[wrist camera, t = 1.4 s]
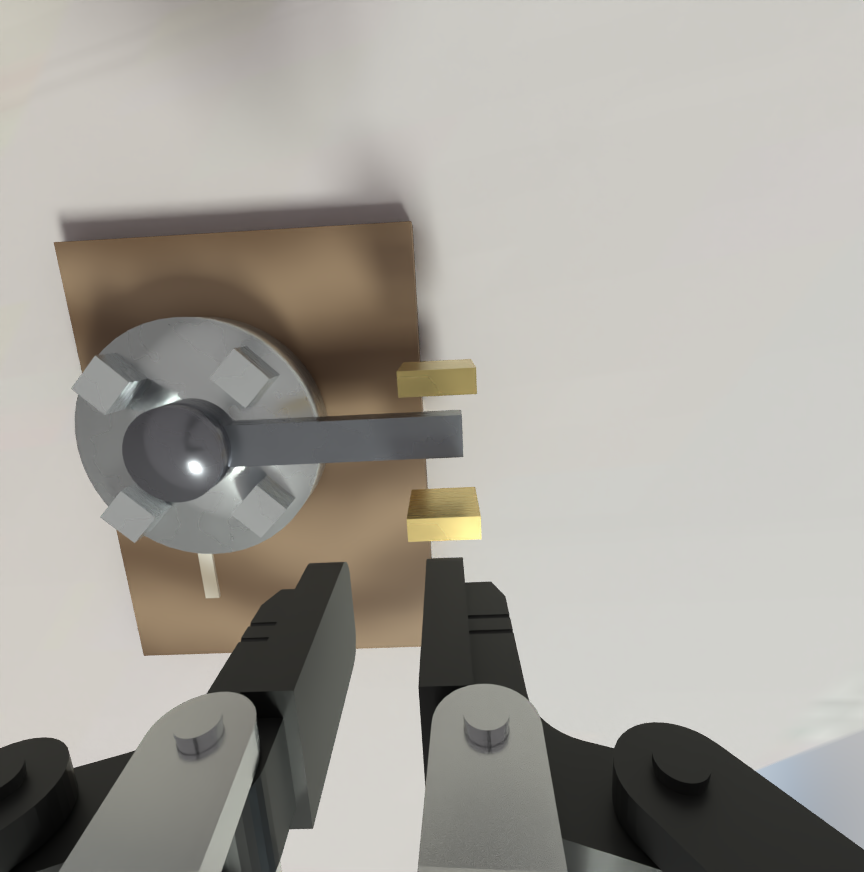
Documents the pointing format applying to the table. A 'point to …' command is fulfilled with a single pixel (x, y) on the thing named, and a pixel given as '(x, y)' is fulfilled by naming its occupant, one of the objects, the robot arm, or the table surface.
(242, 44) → the table surface
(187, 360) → the silver rotary lever
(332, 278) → the base plate
